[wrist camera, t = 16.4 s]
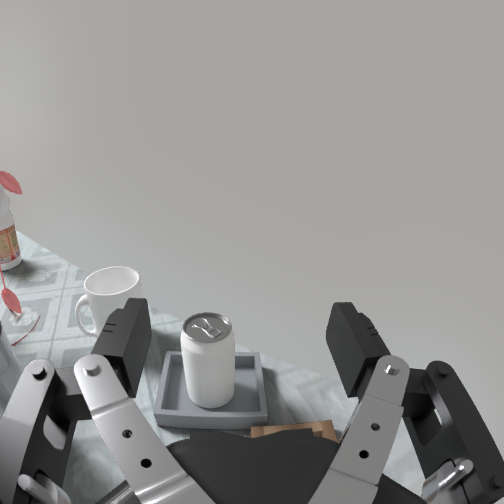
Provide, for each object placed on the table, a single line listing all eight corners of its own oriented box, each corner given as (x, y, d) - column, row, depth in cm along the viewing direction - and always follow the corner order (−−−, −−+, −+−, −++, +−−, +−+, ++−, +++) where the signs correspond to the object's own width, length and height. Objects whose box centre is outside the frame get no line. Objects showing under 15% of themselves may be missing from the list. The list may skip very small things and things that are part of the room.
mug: (160, 338, 49) (151, 280, 44) (103, 370, 40) (84, 310, 36) (131, 315, 54) (121, 261, 49) (79, 340, 45) (62, 284, 41)
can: (210, 369, 42) (208, 304, 38) (243, 391, 39) (247, 326, 34) (178, 391, 38) (167, 325, 33) (211, 418, 34) (206, 353, 29)
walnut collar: (256, 504, 23) (258, 499, 23) (250, 434, 33) (251, 426, 32) (346, 491, 24) (351, 486, 24) (327, 427, 34) (331, 419, 33)
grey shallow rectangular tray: (158, 425, 33) (153, 413, 31) (168, 364, 44) (166, 350, 42) (266, 428, 34) (268, 416, 33) (258, 365, 45) (259, 352, 43)
